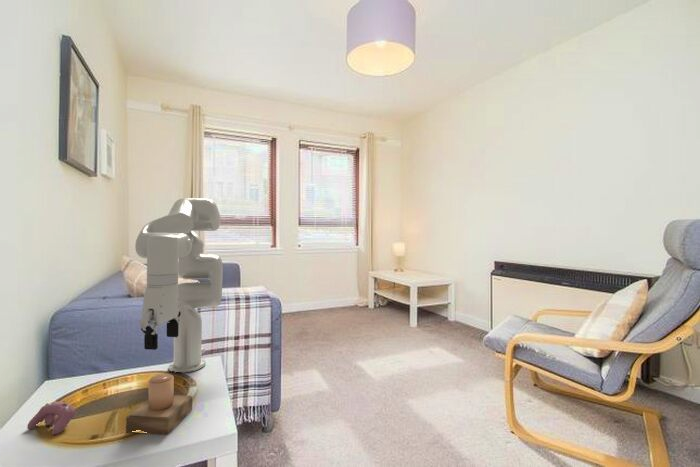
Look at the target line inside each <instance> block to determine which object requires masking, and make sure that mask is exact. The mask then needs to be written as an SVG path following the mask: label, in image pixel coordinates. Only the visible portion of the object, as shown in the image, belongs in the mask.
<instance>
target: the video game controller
mask: <svg viewBox="0 0 700 467" xmlns="http://www.w3.org/2000/svg"><path fill="white" fill-rule="evenodd" d="M75 414H76V408H75V407H74V406H72V405H71V404H70V403H68V402H65V401H55V402H54V401H52V402H49V403H48V402H47V403H45V405H43V406H42V407H40V409H39V410H38V411H37V413H36V414H34V416H33V417H31V419H30V420H29V422H28V423H27V427H26V428H27V429H28V430H29V431H31V430H34V429H35V428H36V427H35V426H36V424H38V423H39V422H41V423H42V422H44V424H45V423H46V425H45V426H52V425H53V428H52V431H51V433H52V435H53V434H56V435H58V434H60V433H61V432H62V431H64V429H65V428H66V427H67V426H68V424H69V423H70V421H72V419H73V418H74V417H75ZM57 416H58V417H57Z"/></svg>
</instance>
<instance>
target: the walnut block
mask: <svg viewBox="0 0 700 467" xmlns="http://www.w3.org/2000/svg"><path fill="white" fill-rule="evenodd" d="M191 410H192V411H193V395H175V394H174V403H173V405H171V406H170V407H168V408H166V409H162V410H150V409H149V399H148V400H146V401H145V402H144V403H143V404H141V405H140V406H138V408H136V409H135V410H134V411H132V412H131V413H130V414H129V415H127V416H126V418H125V420H126V425H125V426H126V427H125V430H126V431H125V432H126V433H128V432H132V431H136V430H141V431H144V432H147V433H150V435H165V436H166V435H167V436H168V435H169V434H170V433H171V432H173V430H174V429H175V428H176V427H177V426H178V425H179V424H180V423H181V422H182V421H183V420H184V419H185V418H186V417H187V416H188V415H189V414H188V413H189V412H190V411H191ZM192 411H191V412H192ZM191 412H190V413H191ZM187 414H188V415H187ZM128 434H129V433H128Z"/></svg>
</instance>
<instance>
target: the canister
mask: <svg viewBox="0 0 700 467" xmlns="http://www.w3.org/2000/svg"><path fill="white" fill-rule="evenodd" d="M174 381H175V378H174V375H172V374H171V373H161V374H156V375H154V376H152V377H151V378H149V379H148V384H147V385H148V386H147V387H148V400H149V409H150V410H162V409H166V408H168V407H170V406H171V405H173V403H174V395H175V393H174V391H175V390H174V384H175V383H174Z"/></svg>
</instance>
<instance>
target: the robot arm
mask: <svg viewBox="0 0 700 467" xmlns="http://www.w3.org/2000/svg"><path fill="white" fill-rule="evenodd" d="M169 210H170V211H169V212H168V214H167V215H165V216H162V217H158V218H157V219H156V218H155V219H154V220H152V221H149V222H148V223H146V224H145V225H144V226H143V227H142V229H141V230H140V231H139V234H138V236H137V237H136V240H135V246H134V247H135V248H134V249H135V253H136V254H137V255H138V257H140V258H142V259H146V287H145V289H144V294H143V300H142V312H141V318H140V320H139V322H138V323H139V325H140V331H141V332H142V334H143V335H144V337H143V338H144V344H143V345H144V347H143V348H144V350H153V351H154V350H157V349H158V348H159V347H158V341H159V340H158V339H159V338H158V336H159V334H158V333H157V331H158V328H159V327H160V326H161V325H163V324H165V323H166V337H167V338H173V361H172V362H171V363H170V364H168V370H169V371H170V372H172V371H175V372H174V373H176V372H182V373H183V374H184V373H191V372H194V371H198V370H200V369H201V368H203V367H205V365H206V359H205V358H203V357H202V354H204V353H205V352H206V350H205V347H202V336H203V335H202V334H203V333H202V326H203V324H202V316H201V314H200V313H199V311H197V309H201V308H216V307H219V305H221V302H222V299H223V298H222V297H223V277H224V276H223V275H224V273H223V270H224V268H223V266H224V265H223V261H222V258H221V257H220V256H219V255H216V254H204V245H205V244H204V242H203V240H202V238H201V237H200V235H198V234H197V233H196V232H195V231H198V232H201V231H204V232H205V231H206V232H215V231H217V230H219V228H220V226H221V223H222V222H221V214H220V212H219V209H218V205H217V204H216V202H215V201H213V200H212V199H211V198H210V199H209V198H198V197H197V198H195V197H193V198H192V197H184V198H183V197H182V198H180V199H177V200H176V201H175V202H174V203H173V205H172V207H171V209H169ZM179 278H181V279H183V280H209V282H208V281H207V282H206V281H205V282H199V281H198V282H183V283H179ZM152 326H153V327H152Z"/></svg>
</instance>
